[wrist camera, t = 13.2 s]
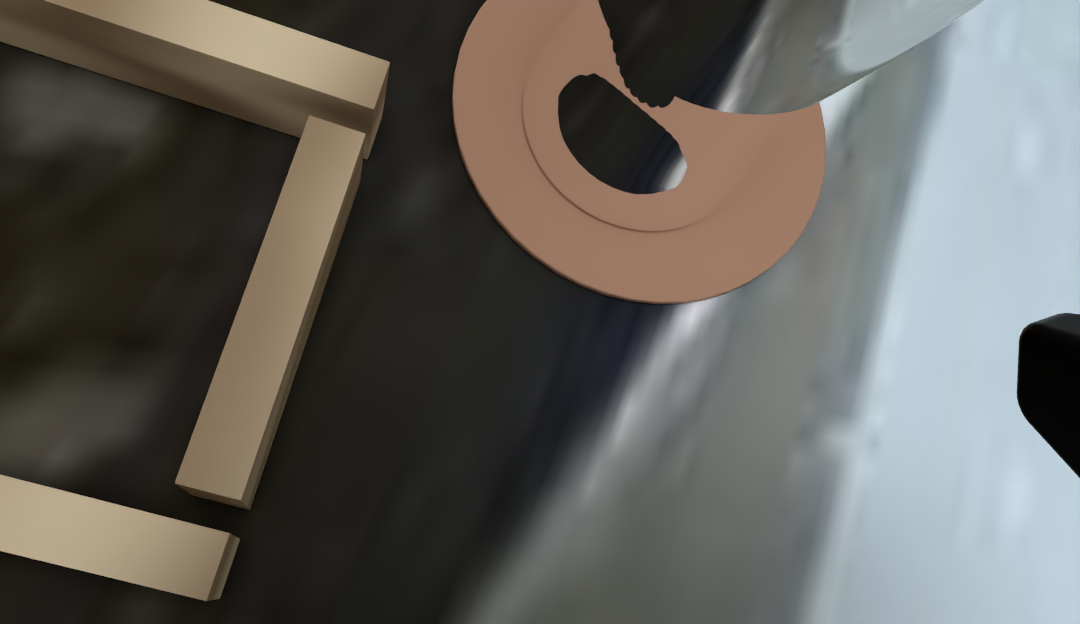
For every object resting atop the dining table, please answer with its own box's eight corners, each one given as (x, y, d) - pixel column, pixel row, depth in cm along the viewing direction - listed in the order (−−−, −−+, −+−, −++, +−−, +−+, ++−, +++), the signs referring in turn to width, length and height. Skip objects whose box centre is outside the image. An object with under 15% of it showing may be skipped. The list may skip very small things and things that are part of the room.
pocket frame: (382, 116, 22) (390, 61, 20) (220, 598, 19) (206, 601, 16) (-115, -48, 21) (-170, -128, 18) (-401, 446, 17) (-516, 425, 15)
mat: (841, 25, 26) (847, 19, 26) (791, 353, 23) (797, 351, 23) (507, -100, 25) (509, -108, 25) (402, 232, 22) (404, 228, 21)
